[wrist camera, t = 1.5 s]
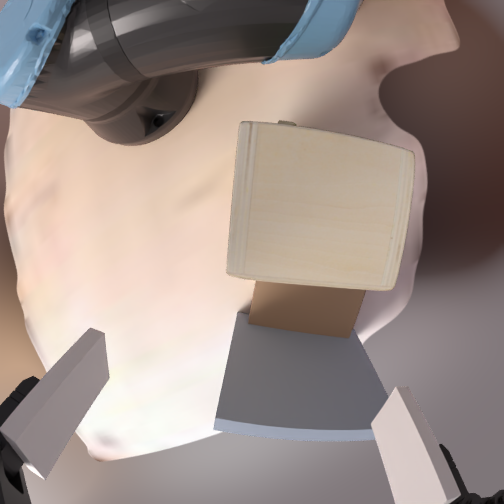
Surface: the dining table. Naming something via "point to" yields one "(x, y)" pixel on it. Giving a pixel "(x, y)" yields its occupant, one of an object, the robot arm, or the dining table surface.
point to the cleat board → (300, 367)
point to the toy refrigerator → (318, 207)
